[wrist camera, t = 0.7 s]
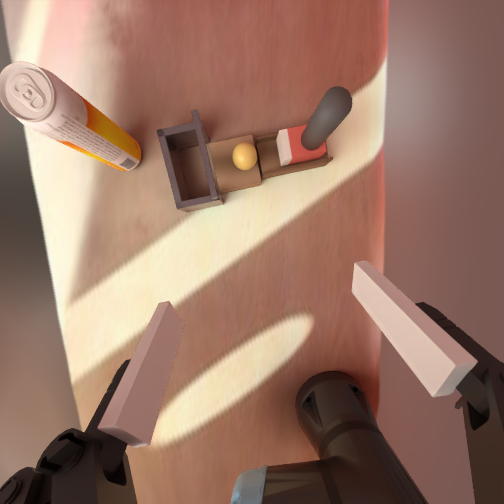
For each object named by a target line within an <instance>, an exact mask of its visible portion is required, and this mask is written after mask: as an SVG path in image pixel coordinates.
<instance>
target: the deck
mask: <svg viewBox="0 0 504 504" xmlns="http://www.w3.org/2000/svg"><path fill="white" fill-rule="evenodd" d="M242 142H247V143H250V144H251V145H253V147H254V142H253V137H252V135H247V136H242V137H238V138H233V139H228V140H224V141H219V142H214V143H209V146H210V151H211V155H212V160H213V164H214V168H215V173H216V177H217V182H218V186H219V190H220V192H221V194H222V193H226V192H231V191H236V190H240V189H245V188H250V187H254V186H259V185H261V177H260V172H259V167H258V162H257V161H256V164H255V165H254V166H253V167H252V168H251V169H249V170H241V169H239V168H238V167H237V166H236V165H235V164H234V162H233V158H232V154H233V150H234V148H235V147H236V146H237V145H238V144H239V143H242ZM254 148H255V147H254Z"/></svg>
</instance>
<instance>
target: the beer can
mask: <svg viewBox="0 0 504 504" xmlns="http://www.w3.org/2000/svg"><path fill="white" fill-rule="evenodd" d="M0 100H1V102H2V104H3V105H4V107H5V108H6V109H7V110H8V111H9V112H10V113H11V114H12V115H13V116H15V117H16V118H17V119H18V120H19V121H20V122H21V123H23V124H24V125H25V126H27V127H29V128H30V129H33V130H35V131H37V132H39V133H41V134H43V135H45V136H48V137H50V138H52V139H54V140H56V141H58V142H60V143H63V144H65V145H67V146H69V147H71V148H73V149H75V150H77V151H80V152H82V153H84V154H86V155H88V156H90V157H92V158H95V159H97V160H99V161H101V162H103V163H105V164H107V165H110V166H112V167H114V168H116V169H118V170H121V171H129V170H132V169H134V168H135V167H136V166H137V165H138V164H139V162H140V160H141V149H140V146H139V144H138V143H137V141H136V140H135V139H134V138H132V137H131V136H130V135H129V134H127V133H126V132H125V131H124V130H123V129H121V128H120V127H119V126H118V125H116V124H115V123H114V122H113V121H111V120H110V119H109V118H108V117H106V116H105V115H104V114H103V113H101V112H100V111H99V110H98V109H96V108H95V107H94V106H93V105H91V104H90V103H89V102H88V101H87V100H85V99H84V98H83V97H82V96H80V95H79V94H78V93H77V92H75V91H74V90H73V89H72V88H70V87H69V86H68V85H67V84H65V83H64V82H63V81H62V80H60V79H59V78H58V77H57V76H56V75H54V74H53V73H51V72H50V71H48V70H45V69H43V68H40V67H37V66H36V65H34V64H31V63H28V62H15V63H12V64H10V65H8V66H7V67H5V68H4V69H3V71H2V72H1V74H0Z"/></svg>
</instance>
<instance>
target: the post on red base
mask: <svg viewBox="0 0 504 504" xmlns="http://www.w3.org/2000/svg"><path fill="white" fill-rule="evenodd" d="M351 108H352V97H351V95H350V93H349V92H348V90H346V89H345V88H343V87H339V86H337V87H333V88H331V89H329V90H328V91H327V92H326V93H325V95H324V96H323V98H322V100H321V102H320V103H319V105H318V107H317V109H316V110H315V112H314V114H313V116H312V117H311V119H310V121H309V123H308V124H307V125H302V126H298V127H293V128H288V129H284V130H279V133H278V136H277V139H276V142H277V147H278V152H279V158H280V163H281V167H282V166H287V165H291V164H296V163H301V162H305V161H310V160H315V159H319V158H320V157H321V156H322V155H323V154H324V153H325V152H326V151H327V150H326V144H325V140H326V139H327V138H328V137H329V136H330V134H331V133H332V132H333V131H334V130H335V129H336V128H337V126H338V125H339V124H340V123H341V122H342V121H343V120H344V118H345V117H346V116H347V115H348V114H349V112H350V111H351Z"/></svg>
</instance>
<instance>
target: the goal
mask: <svg viewBox="0 0 504 504" xmlns="http://www.w3.org/2000/svg"><path fill="white" fill-rule="evenodd" d="M192 116H193V120H194V122H193V123H188V124H183V125H179V126H174V127H169V128H165V129H160V130H157V134H158V138H159V141H160V145H161V149H162V153H163V157H164V161H165V165H166V168H167V172H168V176H169V180H170V184H171V188H172V192H173V195H174V199H175V203H176V207H177V209H178V210H182V211H185V212H190V211H195V210H200V209H204V208H209V207H214V206H218V205H223V204H224V203H223V199H222V198H221V196H220V195H219V194H217V191H216V187H215V183H214V178H213V174H212V170H211V165H210V161H209V157H208V152H207V148H206V144H208V143H210V142H209V137H208V135H207V132H206V130H205V128H204V125H203V123H202V121H200V117H199V113H198V111H197V109H196V110H192ZM198 145H199V146H200V150H201V154H202V158H203V163H204V167H205V171H206V176H207V180H208V184H209V188H210V193H211V195H210V196H205V197H201V198H196V199H191V200H190V199H189V195H188V191H187V187H186V183H185V179H184V175H183V171H182V167H181V163H180V159H179V155H178V151H177V150H180V149H184V148H189V147H194V146H198Z"/></svg>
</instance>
